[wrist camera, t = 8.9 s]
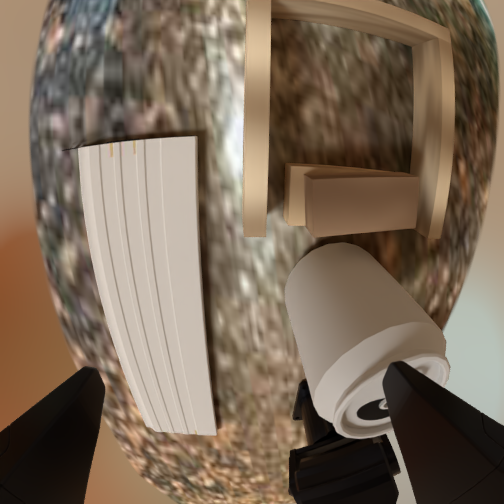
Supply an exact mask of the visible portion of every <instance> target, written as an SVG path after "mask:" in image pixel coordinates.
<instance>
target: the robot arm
mask: <svg viewBox="0 0 504 504" xmlns="http://www.w3.org/2000/svg"><path fill="white" fill-rule="evenodd" d="M382 386H383V391H384V394H385V399H386V403H387V407H388V411H389V415H390V420H391V423H392V427H393V430H394V432H395V436H396V438H397V441H398V444H399V447H400V450H401V453H402V456H403V459H404V463H405V466H406V469H407V472H408V475H409V479H410V482H411V485H412V489H413V492H414V496H415V499H416V503H417V504H504V426H503V425H501V424H500V423H498V422H496V421H495V420H493V419H491V418H490V417H488V416H487V415H485V414H484V413H481V412H480V411H479V410H477V409H476V408H474V407H473V406H471V405H469V404H468V403H467V402H465V401H463V400H462V399H460V398H459V397H457V396H456V395H454V394H453V393H451V392H450V391H448V390H447V389H445V388H444V387H442V386H441V385H439V384H437V383H436V382H434V381H433V380H431V379H430V378H428V377H427V376H425V375H424V374H422V373H421V372H419V371H418V370H416V369H415V368H413V367H412V366H410V365H409V364H407V363H406V362H404V361H401V360H400V361H395V362H391V363H390V364H389V366H388V368H387V371H386V373H385V375H384V378H383V381H382ZM104 397H105V385H104V383H103V380H102V378H101V376H100V374H99V371H98V370H97V369H96V368H94V367H88V366H85V367H83V368H81V369H80V370H79V371H78V372H76V373H75V374H74V375H72V376H71V377H70V378H68V379H67V380H66V381H65V382H63V383H62V384H61V385H59V386H58V387H57V388H56V389H54V390H53V391H52V392H51V393H49V394H48V395H47V396H46V397H44V398H43V399H42V400H40V401H39V402H38V403H36V404H35V405H34V406H33V407H31V408H30V409H29V410H28V411H26V412H25V413H24V414H23V415H21V416H20V417H19V418H17V419H16V420H15V421H14V422H12V423H11V424H10V425H9V426H7V427H6V428H5V429H4V430H2V431H1V432H0V504H84V500H85V494H86V489H87V483H88V478H89V473H90V469H91V464H92V460H93V455H94V451H95V447H96V443H97V438H98V434H99V429H100V423H101V416H102V409H103V403H104ZM292 416H293V420H303V424H304V428H305V433H306V438H307V442H308V446H306V447H303V448H299V449H293V450H290V457H289V489H288V492H289V495H291V496H293V497H294V499H295V501H296V503H297V504H396V501H397V498H398V495H399V492H398V489H397V485H396V483H395V480H394V477H393V476H395V475H397V474H399V473H400V472H401V471H400V467H399V464H398V461H397V458H396V456H395V453H394V451H393V448H392V446H391V444H390V441H389V439H388V437H387V435H386V434H383V435H379V436H376V437H371V438H364V439H355V438H347V437H344V436H342V435H341V434H339V433H337V432H336V430H335V428H334V425H333V423H331V422H329V421H327V420H325V419H324V418H322V417H321V416H319V414H318V413H317V411H316V409H315V407H314V405H313V401H312V397H311V394H310V390H309V386H308V382H307V381H304V382H301V383H300V384H299V387H298V392H297V397H296V401H295V406H294V411H293V415H292Z"/></svg>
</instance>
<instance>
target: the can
mask: <svg viewBox="0 0 504 504" xmlns="http://www.w3.org/2000/svg"><path fill="white" fill-rule="evenodd" d="M285 304H286V307H287V311H288V314H289V318H290V321H291V325H292V328H293V332H294V336H295V339H296V343H297V346H298V350H299V353H300V357H301V361H302V364H303V368H304V371H305V375H306V379H307V382H308V386H309V390H310V394H311V397H312V401H313V405H314V407H315V409H316V411H317V413H318V414H319V416H321V417H322V418H324V419H325V420H327V421H329V422H331V423H333V425H334V428H335V430H336V432H337V433H339V434H341V435H342V436H344V437H347V438H355V439H364V438H371V437H376V436H379V435H383V434H386V433H389V432H391V431H393V427H392V423H391V420H390V415H389V411H388V407H387V403H386V399H385V394H384V391H383V386H382V381H383V378H384V375H385V373H386V371H387V368H388V366H389V364H390V363H391V362H395V361H400V360H401V361H404V362H406V363H407V364H409V365H410V366H412V367H413V368H415V369H416V370H418V371H419V372H421V373H422V374H424V375H425V376H427V377H428V378H430V379H431V380H433V381H434V382H436V383H437V384H439V385H441V386H442V387H445V385H446V383H447V381H448V378H449V372H450V365H449V362H448V360H447V358H446V357H445V351H446V340H445V338H444V335H443V333H442V330H441V329H440V328H439V327H438V326H437V325H436V324H435V322H434V321H433V320H432V319H431V318H430V317H429V316H428V314H427V313H426V312H425V311H424V310H423V309H422V308H421V307H420V306H419V304H418V303H417V302H416V301H415V300H414V299H413V298H412V297H411V296H410V295H409V294H408V293H407V292H406V290H405V289H404V288H403V287H402V286H401V285H400V284H399V283H398V282H397V281H396V280H395V279H394V278H393V277H392V276H391V275H390V274H389V273H388V272H387V271H386V270H385V269H384V268H383V267H382V266H381V265H380V264H379V263H378V262H377V261H376V260H375V259H374V258H373V257H372V256H371V255H370V254H369V253H368V252H367V251H365V250H364V249H362V248H361V247H359V246H357V245H353V244H349V243H344V242H342V243H332V244H326V245H324V246H322V247H319V248H317V249H315V250H312V251H311V252H310V253H308V254H307V255H306V256H305V257H303V258H302V259H301V260H300V261H299V262H298V263H297V264H296V266H295V267H294V269H293V270H292V271H291V273H290V274H289V277H288V280H287V283H286V286H285Z"/></svg>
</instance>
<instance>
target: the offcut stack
mask: <svg viewBox="0 0 504 504" xmlns="http://www.w3.org/2000/svg"><path fill="white" fill-rule="evenodd" d="M418 193H419V177H417V176H414V175H411V174H407V173H404V172H391V171H383V170H374V169H365V168H355V167H344V166H331V165H317V164H300V163H285V184H284V205H283V217H284V219H285V221H286V223H287V224H288V225H294V226H306V228H307V229H308V230H309V232H310V233H311V235H312V236H313V237H314V238H315V237H325V236H335V235H346V234H357V233H367V232H378V231H389V230H400V229H411V228H416V220H417V208H418Z"/></svg>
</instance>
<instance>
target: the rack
mask: <svg viewBox="0 0 504 504" xmlns="http://www.w3.org/2000/svg"><path fill="white" fill-rule="evenodd" d="M271 18H279V19H290V20H299V21H307V22H314V23H320V24H326V25H332V26H337V27H342V28H347V29H351V30H355V31H360V32H364V33H368V34H372V35H375V36H379V37H382V38H386V39H389V40H392V41H395V42H399V43H402V44H405V45H408V46H410V47H412V58H413V82H414V113H413V138H412V153H411V165H410V174H411V175H414V176H417V177H419V193H418V208H417V220H416V228H412V229H414V230H415V231H417V232H418V233H420V234H421V235H423V236H424V237H426V238H427V239H440V237H441V233H442V228H443V223H444V217H445V212H446V206H447V200H448V193H449V186H450V179H451V170H452V160H453V147H454V129H455V84H454V67H453V55H452V46H451V38H450V31H449V29H447V28H445V27H443V26H441V25H439V24H437V23H435V22H433V21H430V20H428V19H426V18H424V17H421V16H419V15H416V14H414V13H411V12H409V11H406V10H404V9H401V8H398V7H395V6H393V5H390V4H387V3H384V2H381V1H377V0H247V3H246V38H245V79H244V132H243V210H242V220H243V231H244V237H266V219H267V189H268V154H269V113H270V56H271Z"/></svg>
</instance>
